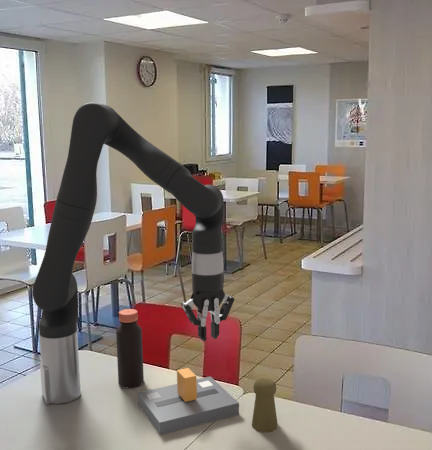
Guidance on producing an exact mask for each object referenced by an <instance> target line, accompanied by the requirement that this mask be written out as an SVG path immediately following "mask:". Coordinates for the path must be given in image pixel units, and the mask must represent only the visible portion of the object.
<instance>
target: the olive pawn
mask: <svg viewBox="0 0 432 450" xmlns="http://www.w3.org/2000/svg"><path fill="white" fill-rule="evenodd" d="M276 392H277V385H276V383H275V381H274V380H273V379H271V378H267V377H264V378H258V379H256V380H255V382H254V383H253V393H254V394H255V397H254V398H255V399H254V405H253V413H252V420H251V427H252V430H253V429H254V430H255V431H257V432H260V433H271V432H272V433H273V432H274V431H276V430H278V427H279V423H278V416H277V408H276V403H275V394H276Z"/></svg>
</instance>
